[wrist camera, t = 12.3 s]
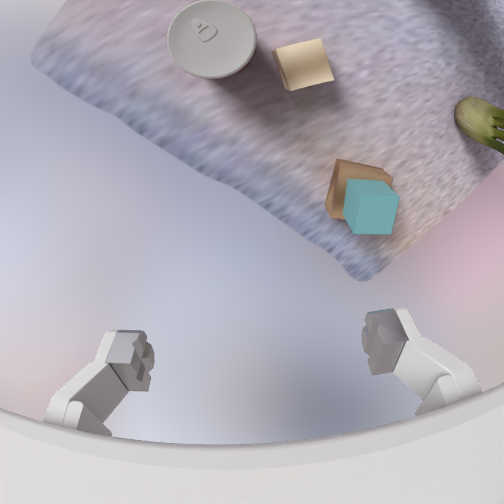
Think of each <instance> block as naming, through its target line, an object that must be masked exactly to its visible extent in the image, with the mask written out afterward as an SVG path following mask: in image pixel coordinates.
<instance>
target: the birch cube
mask: <svg viewBox="0 0 504 504" xmlns="http://www.w3.org/2000/svg"><path fill="white" fill-rule="evenodd" d="M272 54H273V57H274V59H275V62H276V65H277V68H278V70H279V73H280V76H281V79H282V82H283V85H284V88H285V89H287V90H289V91H292V90H296V89H300V88H304V87H307V86H311V85H315V84H319V83H323V82H328V81H332V80H334V78H333V74H332V71H331V68H330V65H329V62H328V59H327V56H326V53H325V50H324V47H323V44H322V41H321V38H319V39H314V40H310V41H305V42H301V43H297V44H293V45H289V46H285V47H281V48H277V49H275V50H273V51H272Z"/></svg>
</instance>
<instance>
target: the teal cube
mask: <svg viewBox="0 0 504 504" xmlns="http://www.w3.org/2000/svg"><path fill="white" fill-rule="evenodd" d="M398 202H399V196H398V195H397V194H396V193H395V192H394V191H393V190H392V189H391V188H390V187H389V186H388V185H387V184H386V183H385V182H384V181H377V180H361V179H347V186H346V194H345V201H344V208H343V216H344V218H345V220H346V221H347V223H348V225H349V226H350V228H351V230H352V232H353V233H354V234H391V232H392V228H393V224H394V220H395V216H396V211H397V207H398Z"/></svg>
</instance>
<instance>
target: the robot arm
mask: <svg viewBox="0 0 504 504" xmlns="http://www.w3.org/2000/svg"><path fill="white" fill-rule="evenodd" d="M365 321H366V324H367V325H366V326H365V327H364V328H363V331H362V344H363V348H364V351H365V353H367V354H368V355H369V359H368V364H369V367H370V370H371V373H372V375H377V374H383V373H389V372H393V373H394V374H395V375H396V376H397V377H398V378H399V379H400V380H401V381H402V382H403V383H405V384H406V385H407V386H408V387H409V388H410V389H411V390H412V391H413V392H414V393H415V394H416V395H417V396H419V397H420V398H421V399H422V400H423V402H422V404H421V405H420V406H419V408H418V409H417V411H416V412H415V415H416V416H415V417H412V418H408V419H405V420H401V421H397V422H394V423H390V424H386V425H382V426H377V427H373V428H368V429H364V430H359V431H354V432H349V433H343V434H338V435H332V436H326V437H318V438H311V439H304V440H294V441H285V442H273V443H258V444H235V445H234V444H232V445H204V444H177V443H162V442H150V441H142V440H133V439H124V438H118V437H112V433H111V431H110V430H109V429H108V428H106V426H104V424H103V422H104V421H105V420H106V419H107V418H108V416H109V415H110V414H111V413H112V411H113V410H114V409H115V408H116V407H117V405H118V404H119V403H120V402H121V401H122V399H123V398H124V397H125V396H126V394H127V393H128V391H148V389H149V385H150V380H151V376H150V375H149V373H148V372H149V371H150V370H152V369H153V366H154V351H153V348H152V346H151V344H149V343H148V342H146V340H147V335H146V334H145V332H144V331H140V330H138V331H137V330H107V331H106V332H105V334H104V336H103V339H102V342H101V344H100V347H99V349H98V352H97V355H96V357H95V360H94V362H90V363H89V364H88V365H87V366H86V367H85V368H83V369H82V370H81V371H80V372H79V373H78V374H76V375H75V376H74V377H73V378H72V379H71V380H70V381H69V382H68V383H66V384H65V385H64V386H63V387H62V388H61V389H60V390H59V391H57V392H56V393H55V394H54V395H53V396H52V398H51V401H50V404H49V406H48V409H47V412H46V415H45V418H44V421H43V422H41V421H38V420H35V419H31V418H28V417H25V416H22V415H19V414H16V413H13V412H10V411H7V410H4V409H1V408H0V504H504V383H502V384H500V385H498V386H496V387H494V388H491V389H489V390H487V391H485V392H482V390H481V388H480V386H479V384H478V382H477V380H476V377H475V375H474V373H473V371H472V369H471V367H470V366H468V365H467V364H465V363H464V362H462V361H461V360H460V359H458V358H457V357H455V356H454V355H452V354H451V353H449V352H448V351H446V350H445V349H443V348H442V347H440V346H438V345H437V344H435V343H434V342H432V341H431V340H429V339H428V338H426V337H423V338H422V336H421V334H420V332H419V330H418V328H417V326H416V324H415V323H414V321H413V319H412V317H411V315H410V313H409V311H408V309H407V308H406V307H405V306H404V307H398V308H393V309H385V310H380V311H374V312H368V313H367V315H366V318H365Z"/></svg>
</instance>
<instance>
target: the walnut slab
mask: <svg viewBox="0 0 504 504" xmlns="http://www.w3.org/2000/svg"><path fill="white" fill-rule="evenodd" d="M347 179H361V180H377V181H384V182H385V183H386V184H387V185H388V186H389V187H390V186H391V183H392V180H393V178H392V177H391V176H390V175H389V174H388V173H386V172H385V171H384V170H383V169H381V168H377V167H373V166H368V165H364V164H359V163H355V162H350V161H346V160H341V159H336V163H335V167H334V171H333V175H332V179H331V183H330V187H329V191H328V194H327V198H326V202H325V207H326V209H327V211H328V213H329V215H330V217H331V218H337V219H343V220H345V218H344V216H343V208H344V201H345V194H346V186H347Z"/></svg>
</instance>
